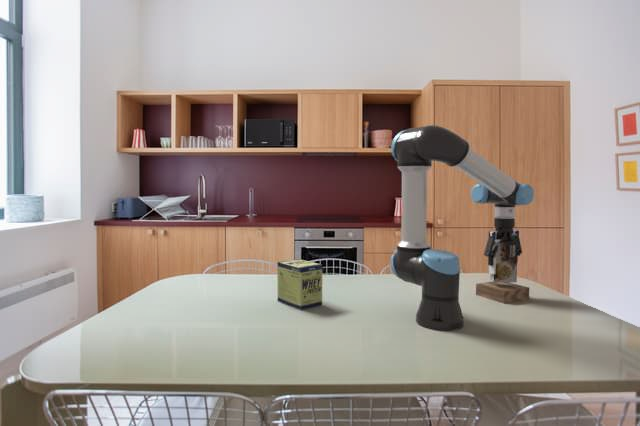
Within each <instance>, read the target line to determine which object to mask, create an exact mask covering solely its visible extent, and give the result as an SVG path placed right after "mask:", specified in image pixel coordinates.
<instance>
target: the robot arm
mask: <svg viewBox="0 0 640 426" xmlns="http://www.w3.org/2000/svg"><path fill="white" fill-rule="evenodd" d="M390 151H391V155H392V157H393V158H394V160H395V161H396V162H397V169H398V170H399V171H400V172H401V221H400V222H401V224H400V225H401V226H400V227H401V233H400V234H401V239H400V241H399V242H397V244H396V249H395V250H394V251H393V254H392V255H391V257H390V267H391V271H392V273H393V274H394V275H395V277H396V278H398V279H400V280H402V281H404V282H406V283H410V284H412V285H416V286H419V287H421V300H420V303H419V304H418V305H419V306H418V309H417V312H416V313H415V322H416V323H417V324H418V325H419V326H421V327H424V328H427V329H430V330H431V329H432V330H438V331H453V330H459V329H461V328H463V327H464V324H465V319H464V318H465V317H464V316H463V312H462V307H461V304H460V301H459V297H460V295H459V294H460V292H459V291H460V277H461V276H460V273H461V266H460V258H459V257H458V255H456V254H455V253H453V252H452V251H447V250H441V249H435V248H434V249H432V248H431V244H430V243H429V242H428V241H427V210H428V209H427V203H428V202H427V199H428V198H427V196H428V194H427V193H428V191H427V188H428V187H427V186H428V171H429V170H430V169H431V168H432V162H440V163H443V164H445V165H446V166H448V167H451V168H453V167H455V168H457V169H459V170H460V172H462V173H465V175H467V176H468V177H470V178H471V179H473V180H475V181H476V182H478V183H477V184H475V185H473V186H472V189H471V192H470V195H471V199H472V201H473V202H474V203H477V204H482V205H485V204H494V212H493V213H494V220H493V221H494V222H493V226H494V228H495V230H494V231H491V230H490V231H488V239H487V242H486V246H485V249H484V253H483V254H484V255H483V256H486V257H487V258H488V259H487V264H488V274H489V273H491V274H495V272H496V258H494V256H495V254H496V252H497V250H498V244H497V246H496V247H495V248H494V242H498V243H499V242H503V241H515V242H517V263H518V258H519V257H520V256H521V255H522V254H523V249H522V245H521V240H520V231H519V229H514V228H515V223H516V220H515V215H516V206H528V205H530V204H532V202H533V200H534V197H535V191H534V188H533V186H532V185H531V184H528V183H527V184H526V183H519V182H517V181H516V180H515V179H514V178H512V177H510V176H509V175H508V174H506V173H505V172H503V171H502V170H500V168H498V167H497V166H495V165H494V164H492V163H491V162H490V161H489V160H487V159H486V158H484V157H483V155H481V154H479V153H477V151H475V150H473V148H471V146H470V143H469V142H468V141H467V140H466V139H464V138H463V137H461V136H460V135H458V134H456V133H455V132H453V131H451V130H449V129H447V128H445V127H442V126H439V125H433V124H432V125H430V124H429V125H424V126H419V127H411V128H407V129H405V130H401V131H400V132H398V133H397V134H396V135H395V136H394V138H393V139H392V142H391V147H390Z"/></svg>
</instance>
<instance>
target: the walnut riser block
mask: <svg viewBox="0 0 640 426" xmlns="http://www.w3.org/2000/svg"><path fill="white" fill-rule="evenodd" d="M475 296H478V297H482V298H484V299H488V300H491V301H494V302H498V303H500V304H510V303H514V302H521V301H525V300H530V287H528V286H525V285H520V284H516V283H514V282H493V281H487V282H481V283H476V284H475Z"/></svg>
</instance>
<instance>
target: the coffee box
mask: <svg viewBox="0 0 640 426" xmlns="http://www.w3.org/2000/svg"><path fill="white" fill-rule="evenodd" d="M497 244H498V250H497V252H496V254H495V256H494V258H496V272H495V274H491V273H489V272H488V275H489V277H488V278H489V280H490V282H492V281H493V282H509V283H517V282H518V281H517V279H518V277H517V276H518V262H517V242H515V241H503V242H499V243H498V242H494V248H495V247H496V246H497Z"/></svg>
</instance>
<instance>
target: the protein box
mask: <svg viewBox="0 0 640 426" xmlns="http://www.w3.org/2000/svg"><path fill="white" fill-rule="evenodd" d="M277 302H280V303H282V304H285V305H287V306H290V307H292V308H294V309H297V310H299V309H300V310H299V311H302V310H306V309H311V308H315V307H319V305H320V306H323V264H321V263H316V262H312V261H309V260H304V259H301V258H300V259H299V258H298V259H290V260H283V261H277Z"/></svg>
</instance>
